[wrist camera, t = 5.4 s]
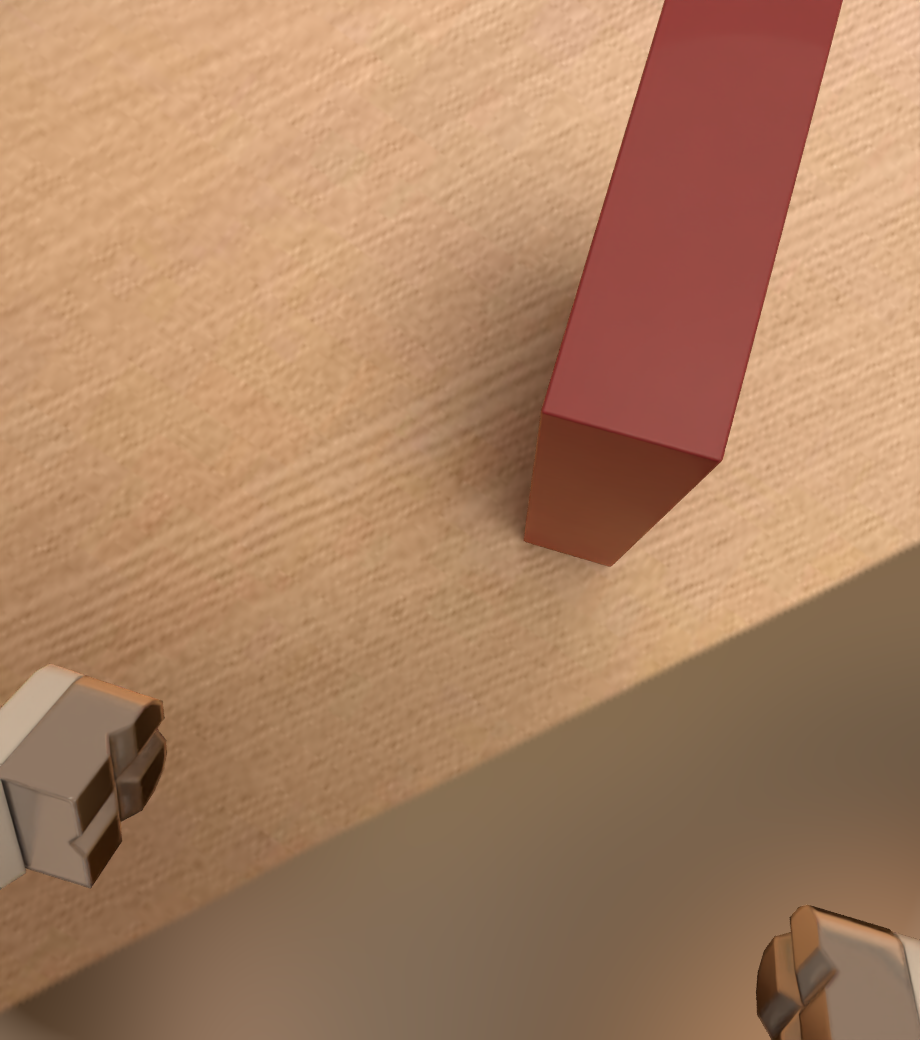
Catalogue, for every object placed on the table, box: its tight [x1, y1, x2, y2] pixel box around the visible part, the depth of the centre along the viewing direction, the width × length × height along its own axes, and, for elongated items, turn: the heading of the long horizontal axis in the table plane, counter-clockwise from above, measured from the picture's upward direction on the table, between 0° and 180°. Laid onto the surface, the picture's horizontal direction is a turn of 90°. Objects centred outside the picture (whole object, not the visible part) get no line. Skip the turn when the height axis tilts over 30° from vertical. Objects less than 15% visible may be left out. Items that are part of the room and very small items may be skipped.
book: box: [524, 0, 843, 566], centre depth 19 cm, size 9×3×13 cm, turn 163°
